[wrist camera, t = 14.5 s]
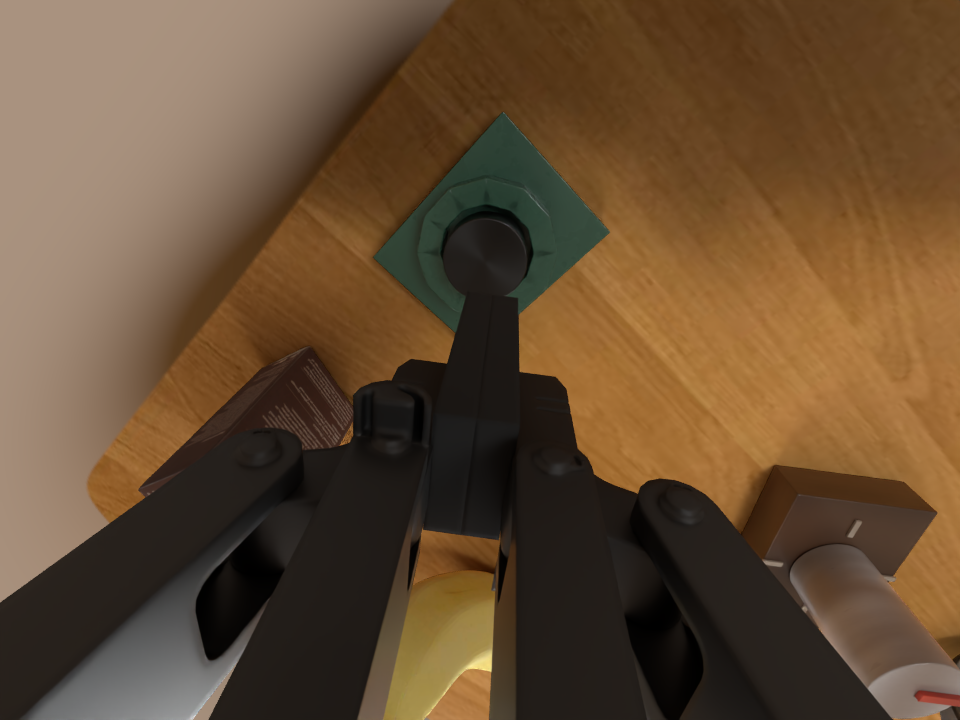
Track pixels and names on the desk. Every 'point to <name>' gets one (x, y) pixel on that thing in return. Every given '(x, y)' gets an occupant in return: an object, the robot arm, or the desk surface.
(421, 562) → the desk surface
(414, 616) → the banana
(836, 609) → the dial
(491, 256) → the button
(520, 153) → the button box
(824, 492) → the dial panel
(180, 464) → the box
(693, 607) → the robot arm
